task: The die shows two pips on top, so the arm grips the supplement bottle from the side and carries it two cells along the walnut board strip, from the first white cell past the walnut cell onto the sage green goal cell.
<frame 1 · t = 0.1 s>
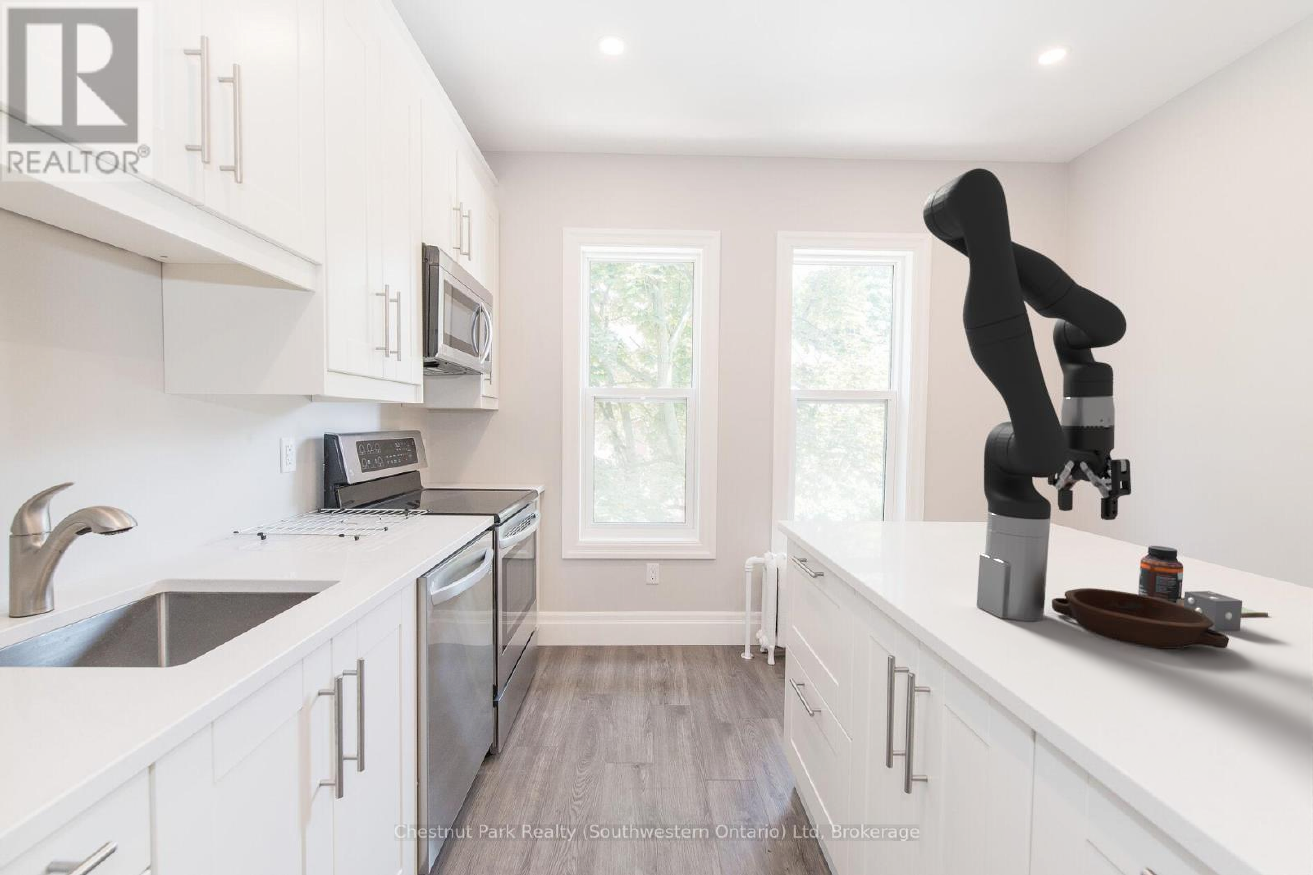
hand: (1086, 514, 102), 17 cm above the worktop, tool pointing down, fingers open, 8 cm apart
supplement bottle: (1158, 610, 106), resting on board
dish: (1131, 635, 93), on the worktop
board: (1191, 608, 107), on the worktop
die: (1210, 625, 98), on the worktop
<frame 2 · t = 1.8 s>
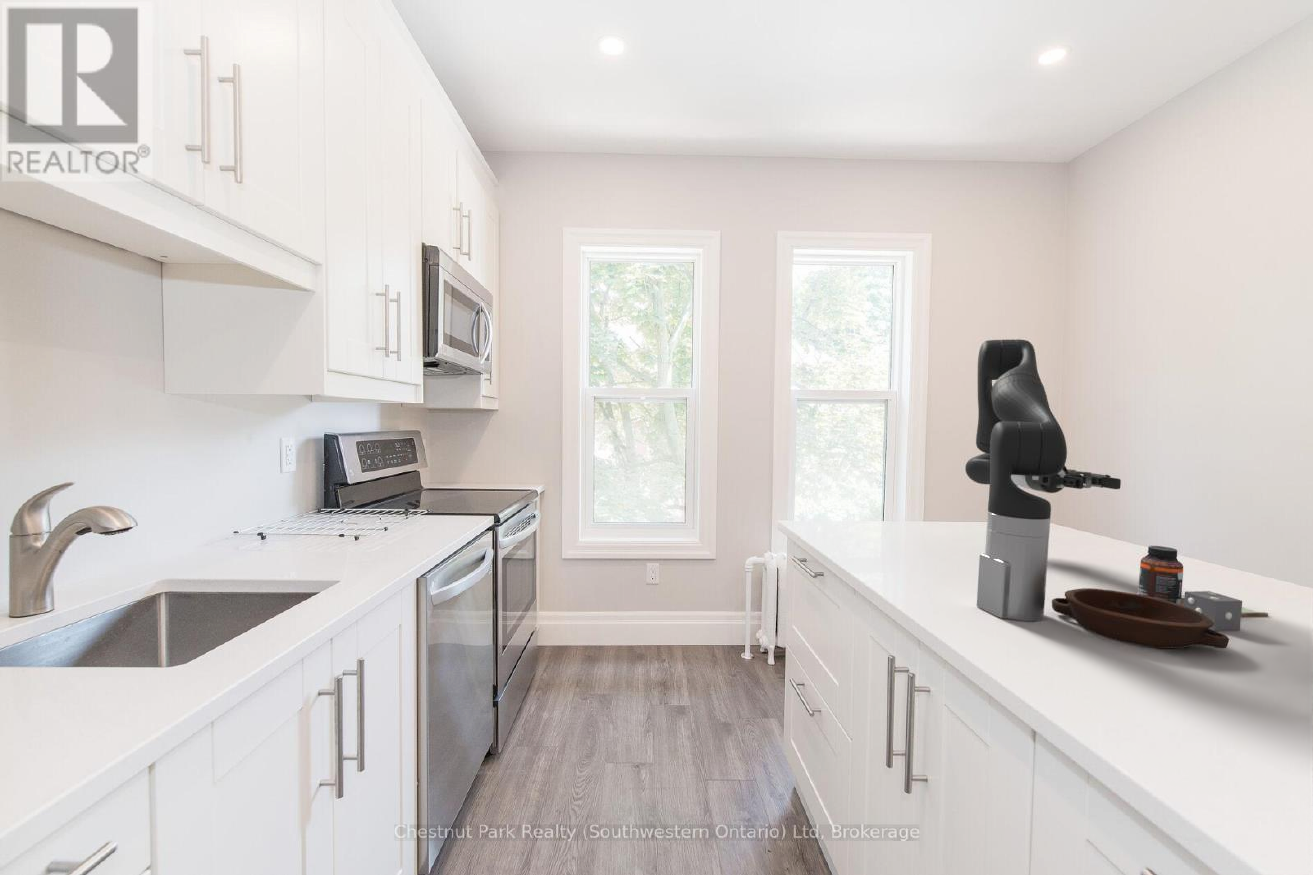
hand: (1100, 484, 118), 21 cm above the worktop, tool horizontal, fingers open, 8 cm apart
nothing on the worktop moved.
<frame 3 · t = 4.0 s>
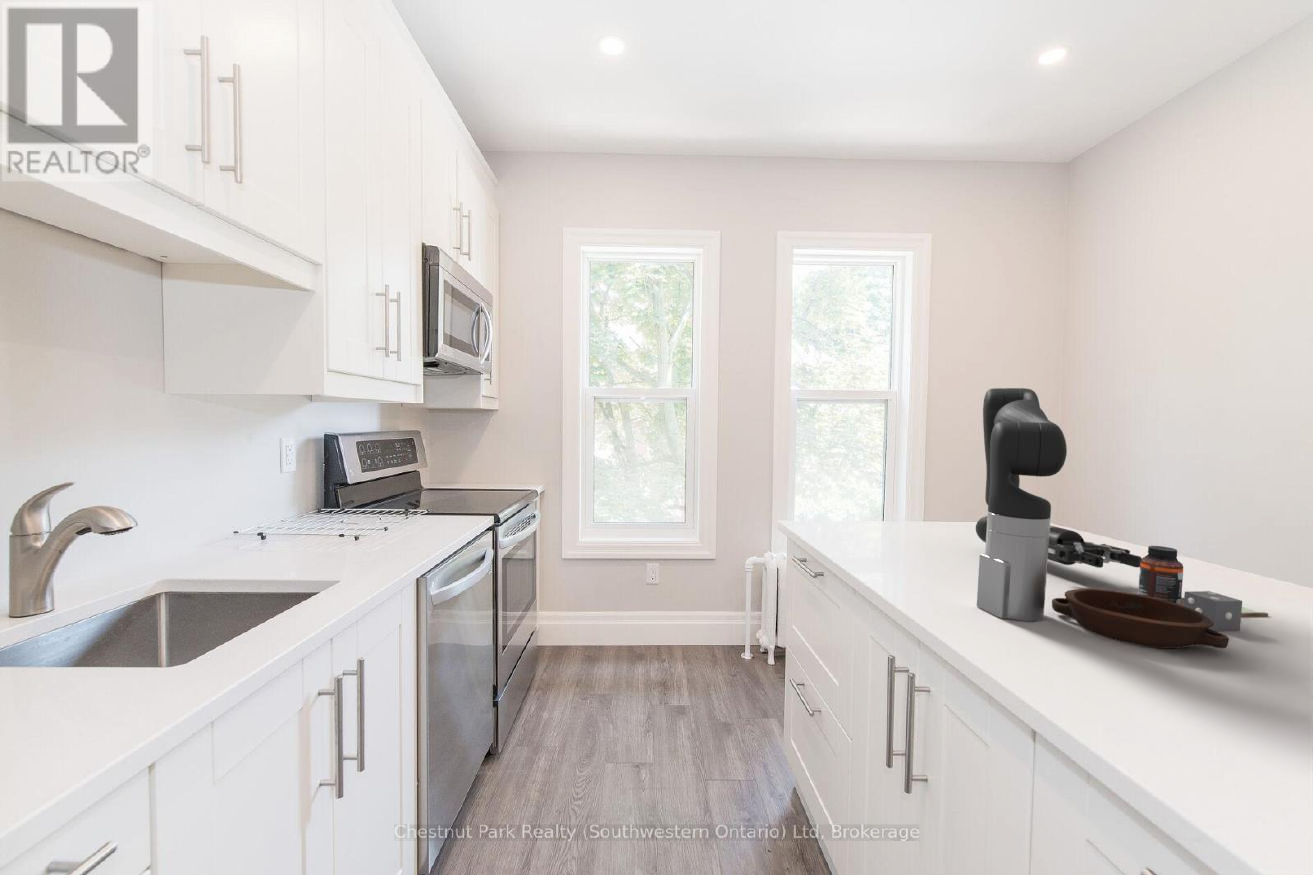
hand: (1121, 562, 113), 6 cm above the worktop, tool horizontal, fingers open, 8 cm apart
nothing on the worktop moved.
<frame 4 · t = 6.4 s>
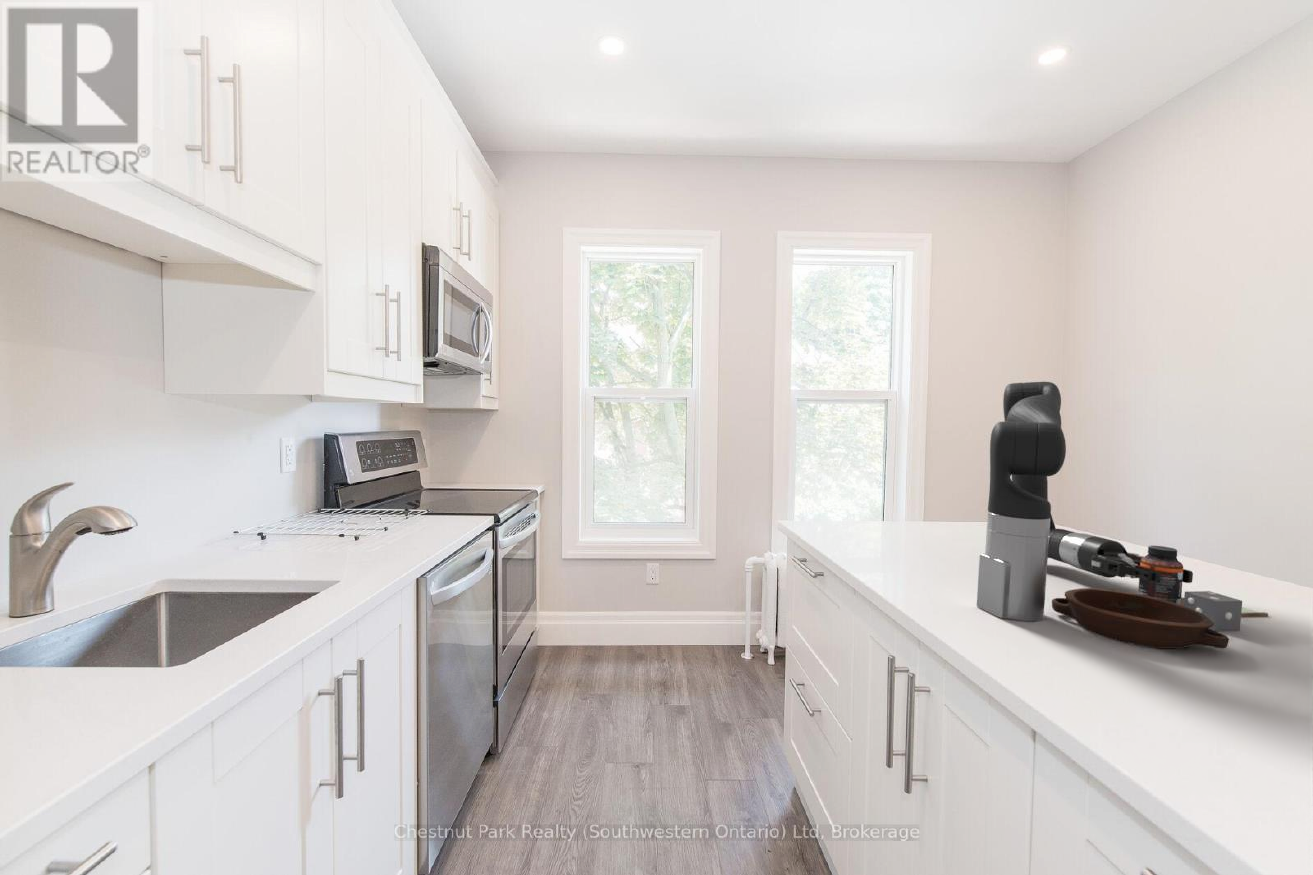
hand: (1174, 577, 103), 7 cm above the worktop, tool horizontal, fingers closed on supplement bottle, 6 cm apart
supplement bottle: (1158, 610, 106), resting on board, touching gripper
everything else where it was.
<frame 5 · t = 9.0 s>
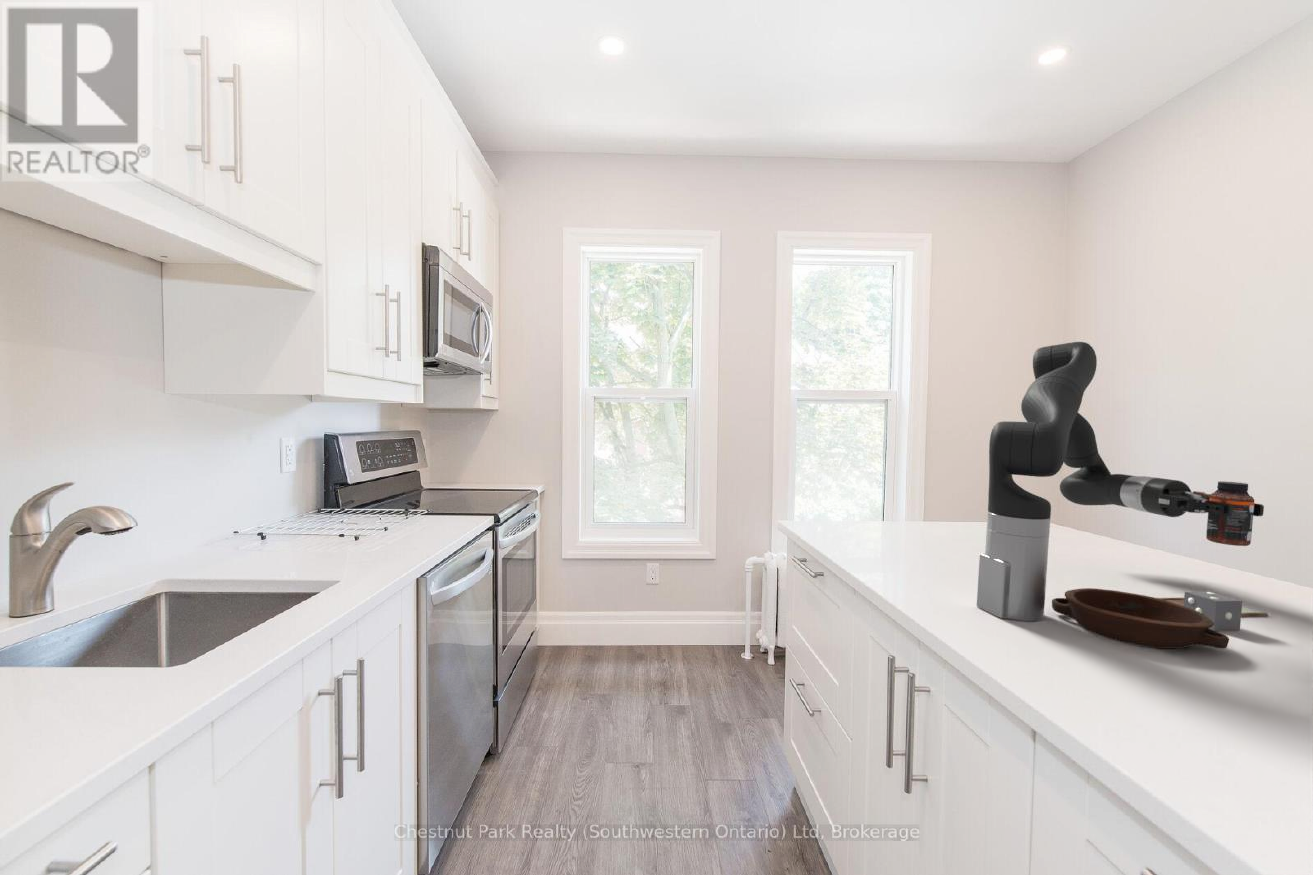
hand: (1246, 510, 104), 19 cm above the worktop, tool horizontal, fingers closed on supplement bottle, 6 cm apart
supplement bottle: (1227, 544, 107), point 12 cm above the worktop, touching gripper
everything else where it was.
when the fingers open (7 cm above the worktop, at t = 11.6 s): supplement bottle stays where it is, resting on board.
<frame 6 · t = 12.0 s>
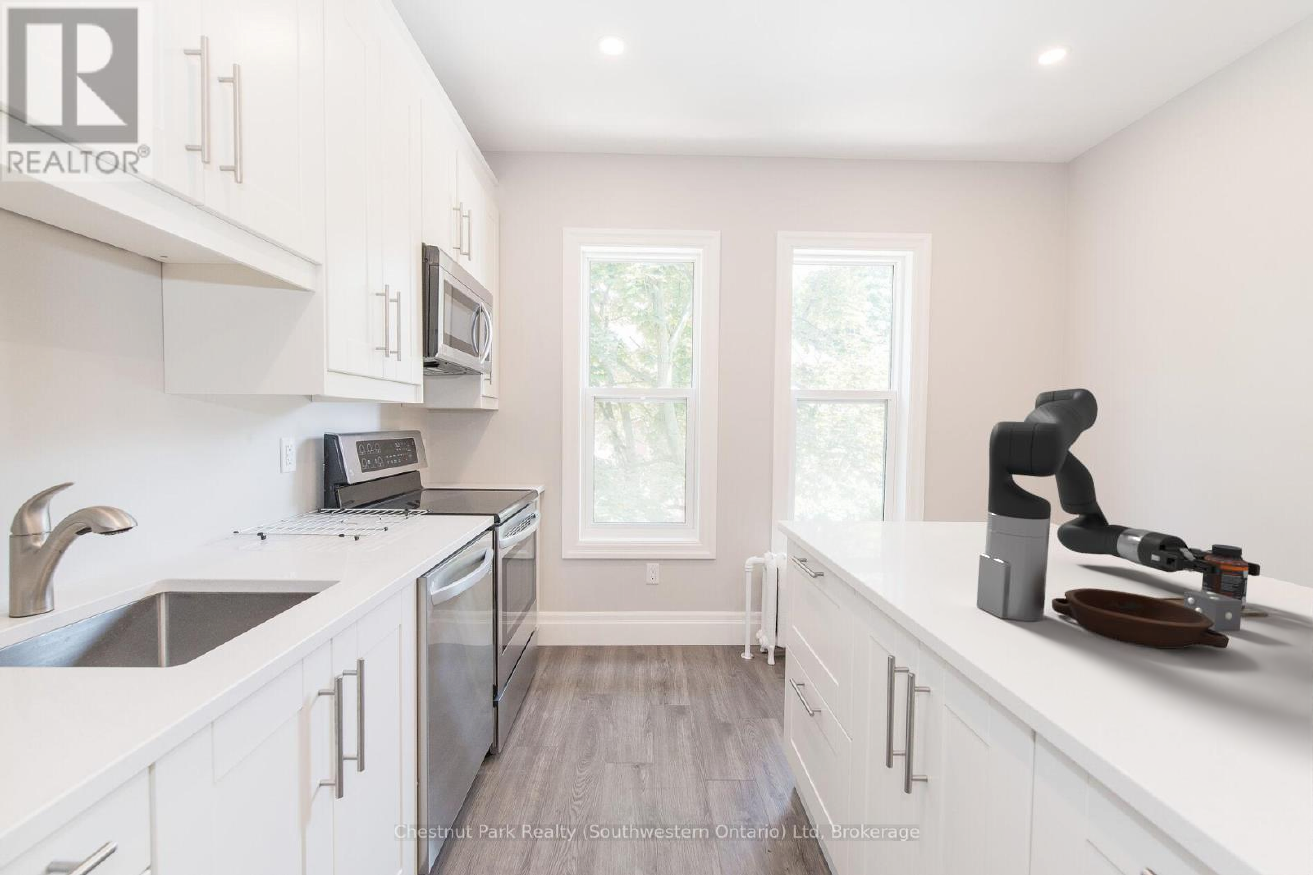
hand: (1238, 570, 105), 7 cm above the worktop, tool horizontal, fingers open, 8 cm apart
supplement bottle: (1222, 607, 108), resting on board
everything else where it was.
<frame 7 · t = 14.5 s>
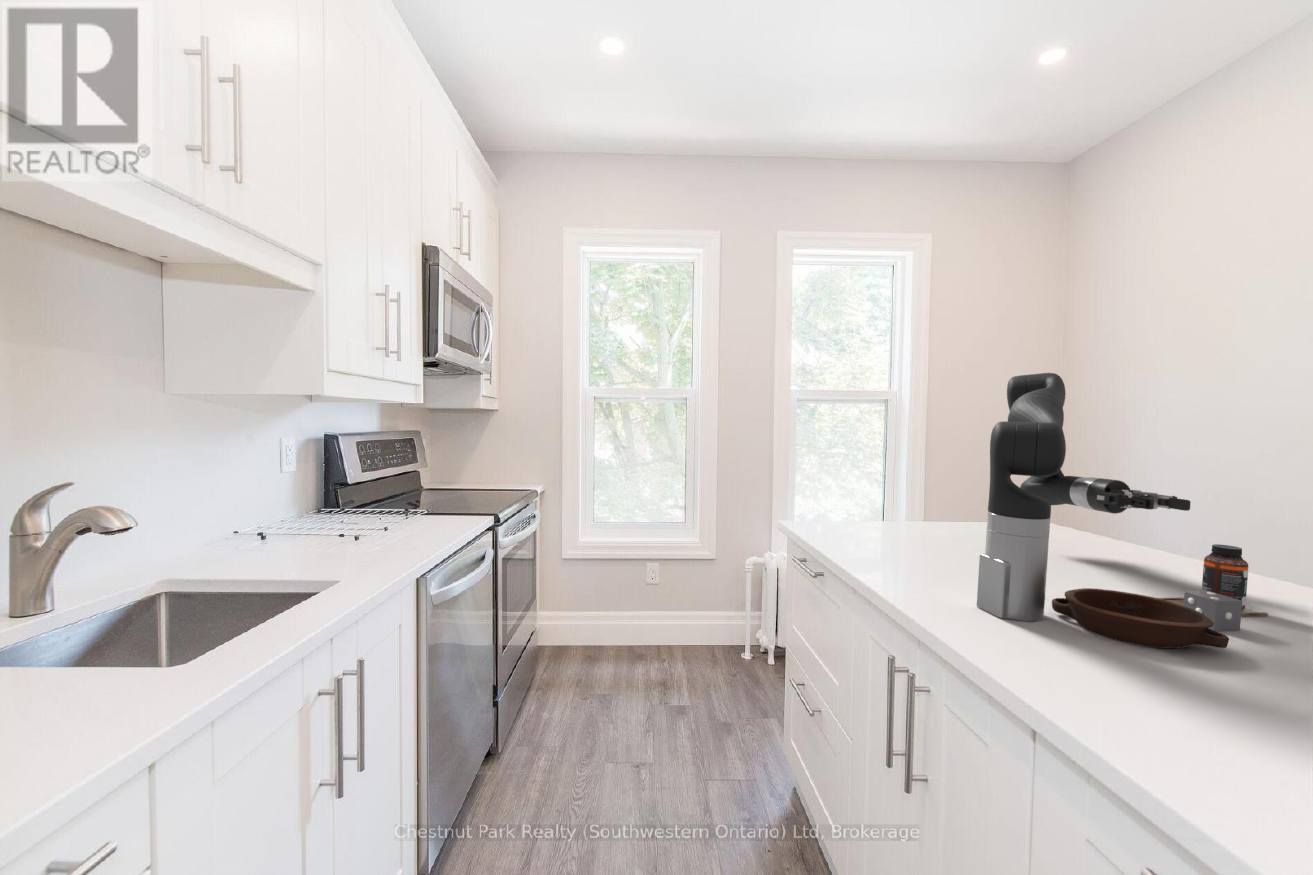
hand: (1170, 505, 118), 17 cm above the worktop, tool horizontal, fingers open, 8 cm apart
nothing on the worktop moved.
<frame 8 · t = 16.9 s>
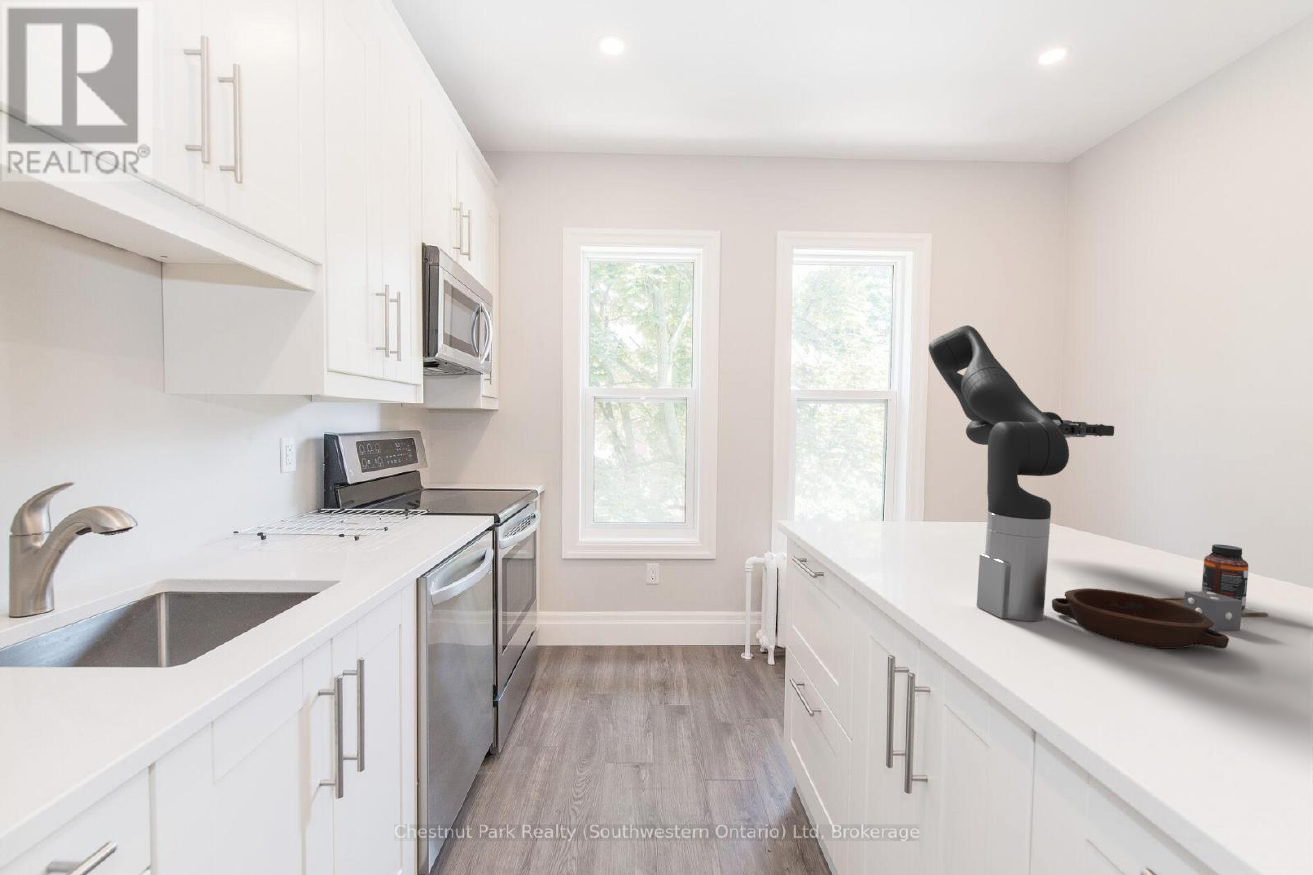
hand: (1095, 430, 122), 32 cm above the worktop, tool horizontal, fingers open, 8 cm apart
nothing on the worktop moved.
at the end: supplement bottle 0.1 cm from the target spot, resting on board; supplement bottle tilted 0° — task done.
